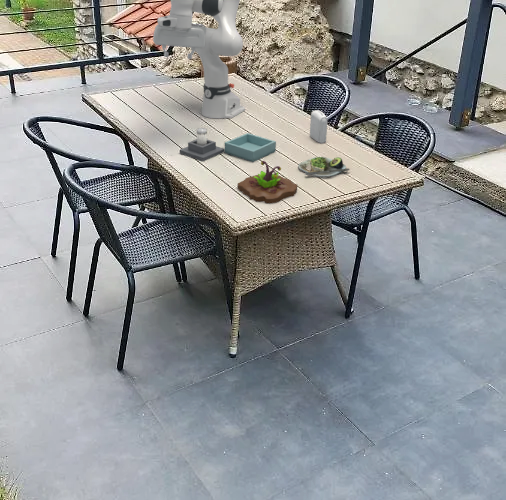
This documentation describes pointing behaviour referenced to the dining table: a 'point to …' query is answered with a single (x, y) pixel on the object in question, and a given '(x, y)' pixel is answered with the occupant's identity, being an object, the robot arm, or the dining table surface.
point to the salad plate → (323, 167)
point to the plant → (267, 186)
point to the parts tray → (250, 147)
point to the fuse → (201, 136)
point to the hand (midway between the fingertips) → (177, 57)
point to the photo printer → (318, 126)
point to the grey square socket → (201, 150)
